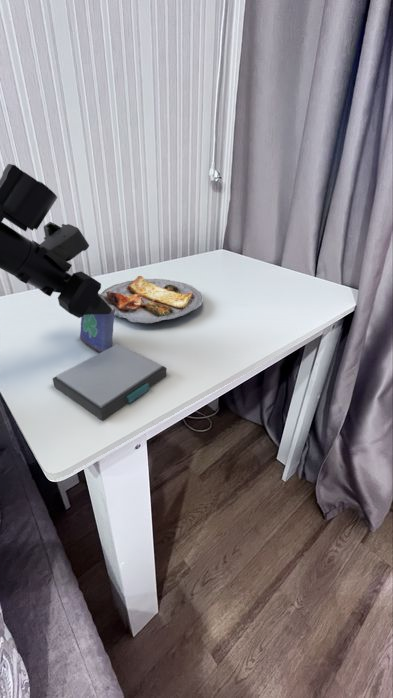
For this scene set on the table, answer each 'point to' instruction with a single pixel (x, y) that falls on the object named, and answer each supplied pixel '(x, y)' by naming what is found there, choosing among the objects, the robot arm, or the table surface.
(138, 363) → the scale
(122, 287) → the food plate
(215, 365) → the table surface
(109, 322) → the flask
